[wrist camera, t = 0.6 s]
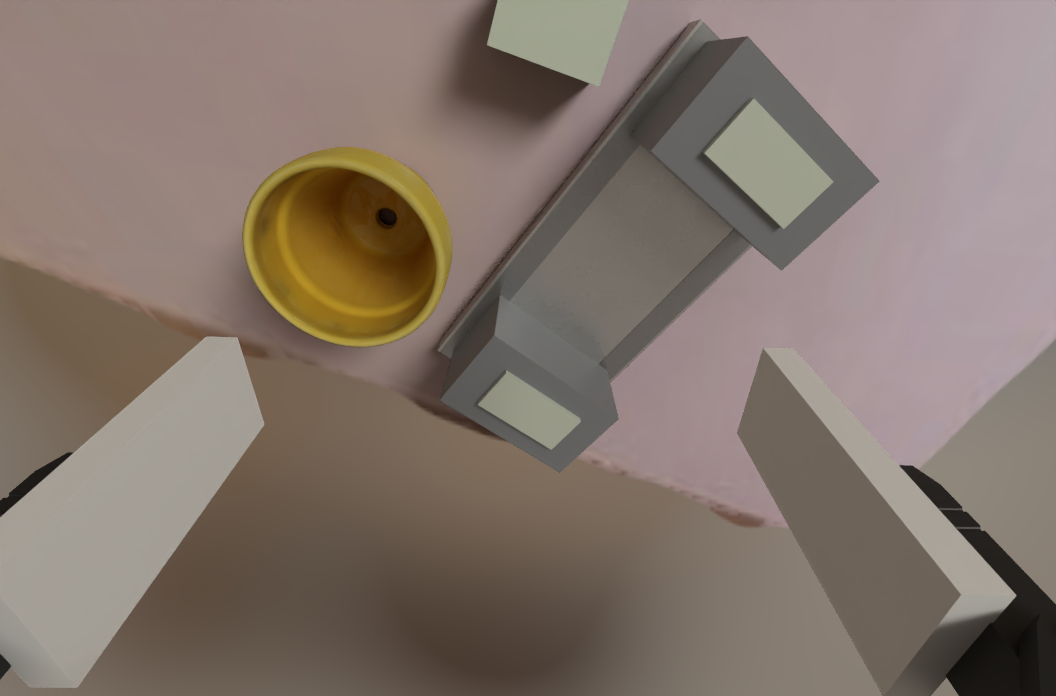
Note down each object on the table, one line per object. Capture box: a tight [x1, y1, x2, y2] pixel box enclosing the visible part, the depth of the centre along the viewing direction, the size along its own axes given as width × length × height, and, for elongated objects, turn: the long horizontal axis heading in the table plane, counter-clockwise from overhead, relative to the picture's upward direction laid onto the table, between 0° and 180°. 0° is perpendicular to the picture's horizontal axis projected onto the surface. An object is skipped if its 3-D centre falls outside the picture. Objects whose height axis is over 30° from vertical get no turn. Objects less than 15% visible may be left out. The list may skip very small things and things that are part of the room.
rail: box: [438, 20, 752, 382], centre depth 34 cm, size 12×26×2 cm, turn 142°
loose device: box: [487, 0, 629, 87], centre depth 26 cm, size 6×4×5 cm, turn 72°
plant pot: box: [242, 147, 452, 347], centre depth 30 cm, size 10×10×10 cm
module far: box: [440, 295, 618, 472], centre depth 35 cm, size 10×6×6 cm, turn 52°
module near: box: [630, 36, 879, 271], centre depth 27 cm, size 10×6×6 cm, turn 52°
